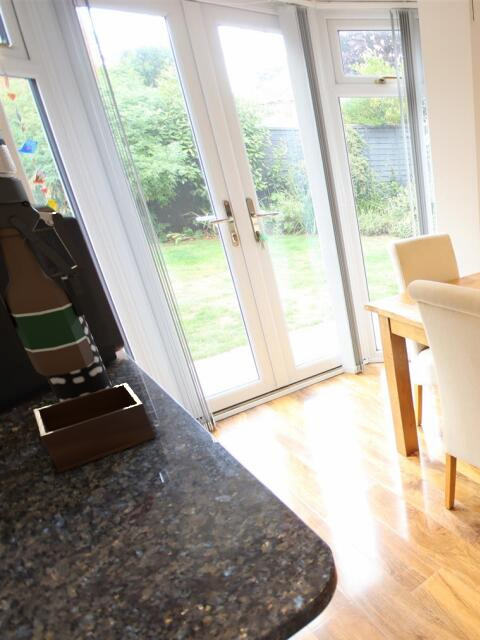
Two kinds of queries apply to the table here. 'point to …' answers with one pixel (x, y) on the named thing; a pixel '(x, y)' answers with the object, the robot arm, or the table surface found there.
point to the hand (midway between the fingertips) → (47, 320)
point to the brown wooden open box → (93, 426)
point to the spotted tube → (81, 375)
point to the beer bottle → (42, 311)
